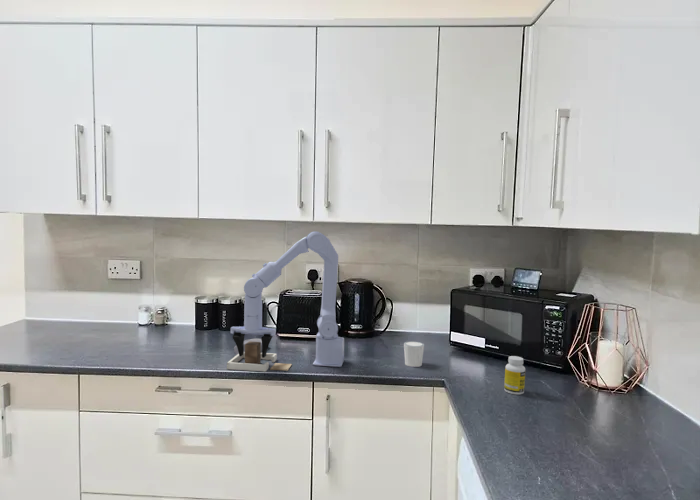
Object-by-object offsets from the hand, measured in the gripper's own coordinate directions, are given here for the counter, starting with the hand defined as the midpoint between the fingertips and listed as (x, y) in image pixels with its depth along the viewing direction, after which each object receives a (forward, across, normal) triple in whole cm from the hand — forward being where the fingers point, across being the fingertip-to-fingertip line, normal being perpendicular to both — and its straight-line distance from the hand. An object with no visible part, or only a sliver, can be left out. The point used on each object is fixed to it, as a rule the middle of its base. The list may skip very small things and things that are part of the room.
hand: (252, 356), depth 147 cm
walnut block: (+3, 0, 0) cm, 3 cm away
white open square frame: (+3, 0, 0) cm, 3 cm away
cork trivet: (+3, -10, +2) cm, 10 cm away
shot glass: (+3, -52, -10) cm, 54 cm away
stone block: (+3, +6, -15) cm, 16 cm away
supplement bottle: (+3, -80, +10) cm, 81 cm away
